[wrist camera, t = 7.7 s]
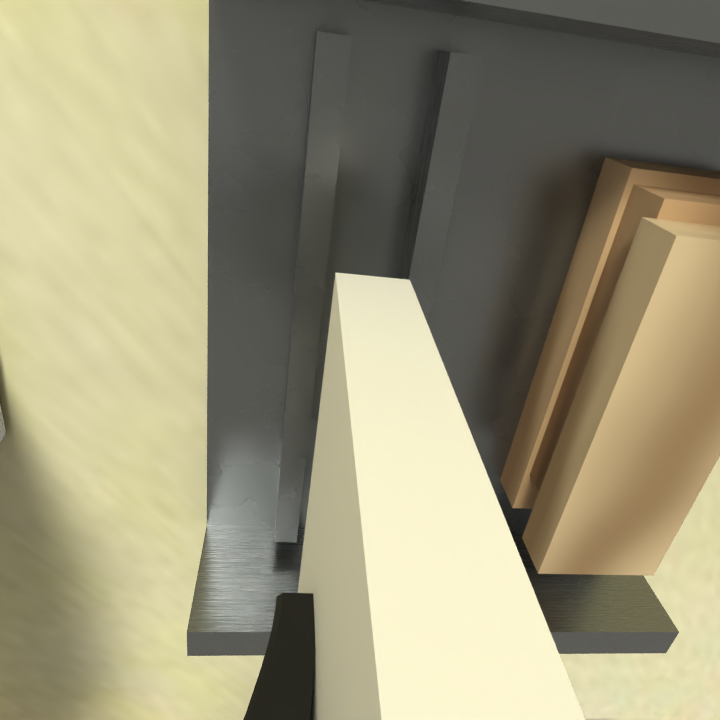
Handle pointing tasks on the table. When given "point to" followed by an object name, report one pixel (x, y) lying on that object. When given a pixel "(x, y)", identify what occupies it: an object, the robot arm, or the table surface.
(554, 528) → the offcut stack
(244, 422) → the rack
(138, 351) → the table surface
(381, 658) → the white block
